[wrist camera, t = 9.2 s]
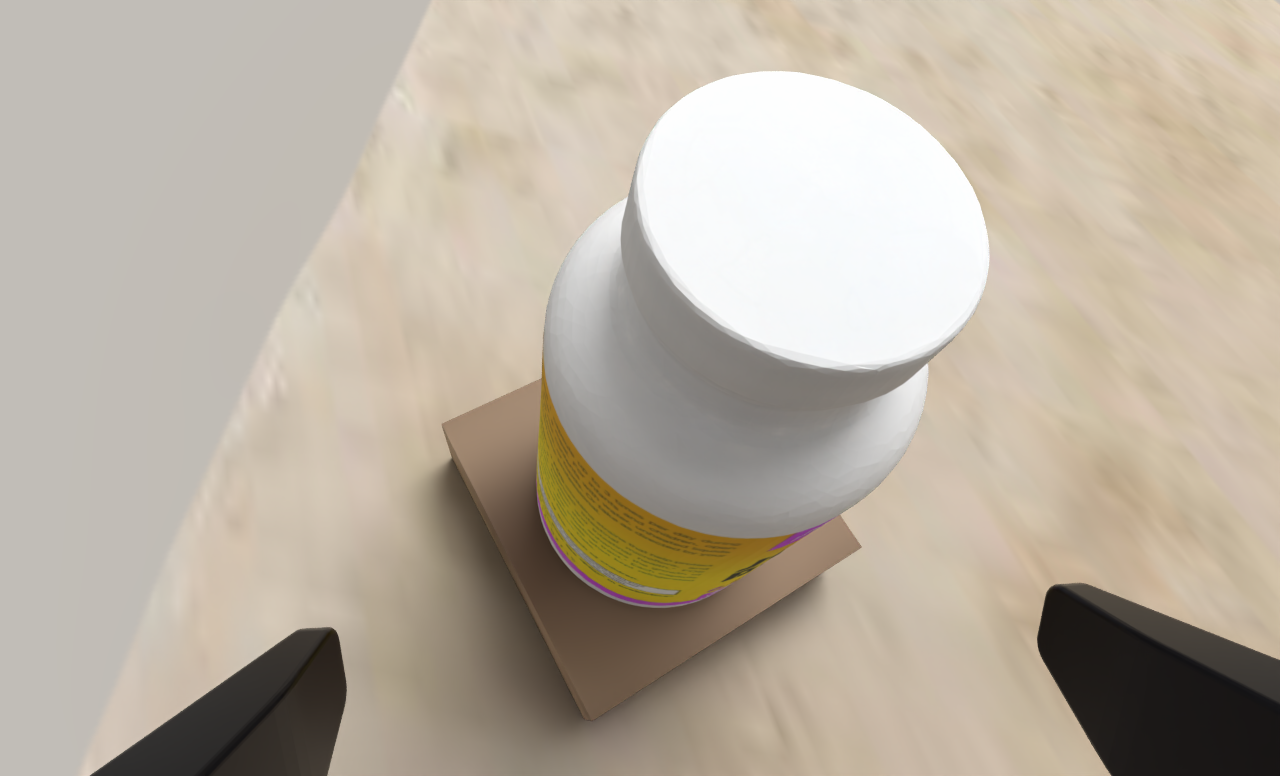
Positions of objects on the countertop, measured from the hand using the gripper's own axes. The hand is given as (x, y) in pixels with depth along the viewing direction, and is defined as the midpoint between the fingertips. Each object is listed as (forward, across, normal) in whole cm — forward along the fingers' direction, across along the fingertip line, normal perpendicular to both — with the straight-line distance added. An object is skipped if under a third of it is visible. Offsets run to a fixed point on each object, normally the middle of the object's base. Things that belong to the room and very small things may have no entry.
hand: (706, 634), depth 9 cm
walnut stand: (+13, 0, +5) cm, 14 cm away
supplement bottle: (+11, 0, +4) cm, 12 cm away
